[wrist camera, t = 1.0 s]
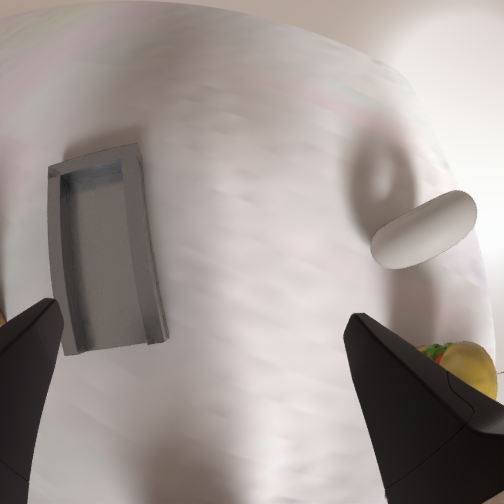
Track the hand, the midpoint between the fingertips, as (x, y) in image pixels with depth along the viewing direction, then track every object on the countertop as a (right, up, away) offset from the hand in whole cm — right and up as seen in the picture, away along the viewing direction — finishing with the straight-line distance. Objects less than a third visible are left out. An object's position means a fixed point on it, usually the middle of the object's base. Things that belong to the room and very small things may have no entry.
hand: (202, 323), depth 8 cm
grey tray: (-10, +2, +13) cm, 17 cm away
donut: (+14, +3, +18) cm, 23 cm away
